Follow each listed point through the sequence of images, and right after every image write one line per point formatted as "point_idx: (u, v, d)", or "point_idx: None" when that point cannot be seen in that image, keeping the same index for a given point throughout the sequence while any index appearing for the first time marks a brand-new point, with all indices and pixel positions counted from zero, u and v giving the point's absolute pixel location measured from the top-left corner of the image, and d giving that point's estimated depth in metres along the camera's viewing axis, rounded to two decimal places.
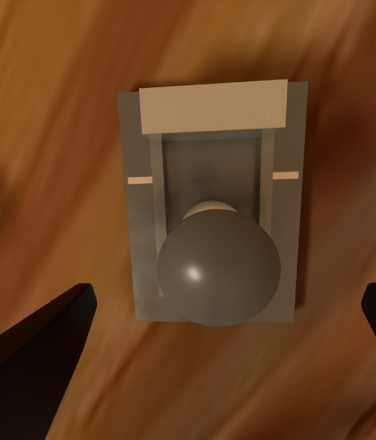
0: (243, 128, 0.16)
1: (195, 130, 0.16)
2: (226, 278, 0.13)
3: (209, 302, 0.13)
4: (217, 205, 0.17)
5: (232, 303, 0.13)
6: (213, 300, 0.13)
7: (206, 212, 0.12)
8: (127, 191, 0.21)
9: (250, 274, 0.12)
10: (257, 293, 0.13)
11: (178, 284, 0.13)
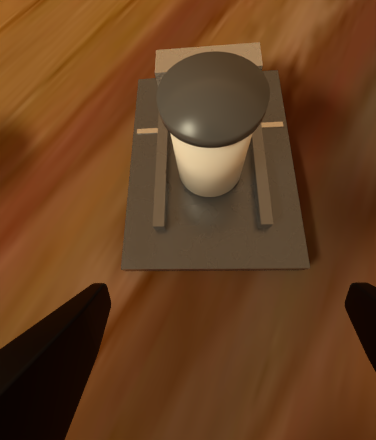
0: None
1: None
2: (220, 96, 0.14)
3: (204, 117, 0.13)
4: None
5: (227, 116, 0.13)
6: (208, 114, 0.13)
7: (201, 54, 0.15)
8: (135, 139, 0.24)
9: (242, 92, 0.14)
10: (250, 106, 0.13)
11: (175, 103, 0.14)
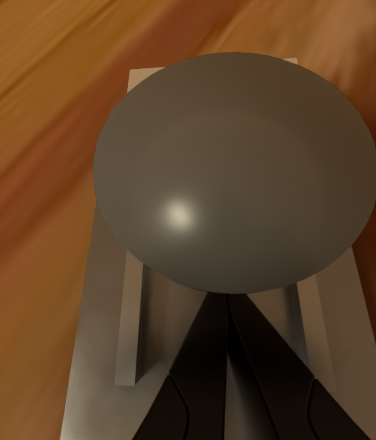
0: None
1: None
2: (250, 160, 0.05)
3: (210, 219, 0.05)
4: None
5: (271, 220, 0.05)
6: (219, 212, 0.05)
7: None
8: None
9: (304, 150, 0.05)
10: (331, 192, 0.05)
11: (137, 177, 0.06)
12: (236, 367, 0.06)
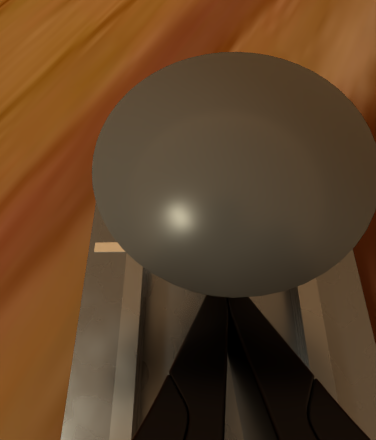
0: None
1: None
2: (250, 162, 0.05)
3: (210, 222, 0.05)
4: None
5: (271, 223, 0.05)
6: (219, 215, 0.05)
7: (203, 58, 0.07)
8: (90, 263, 0.14)
9: (305, 152, 0.05)
10: (333, 195, 0.05)
11: (137, 180, 0.05)
12: (236, 367, 0.06)
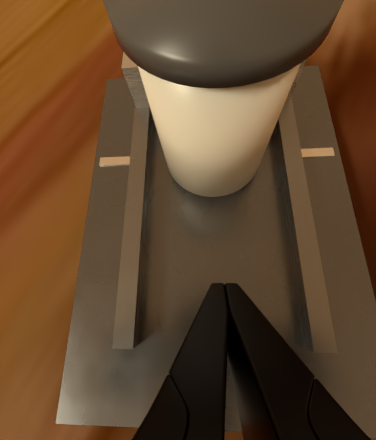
0: None
1: None
2: None
3: (205, 15, 0.06)
4: None
5: (257, 12, 0.06)
6: (213, 11, 0.06)
7: None
8: (96, 175, 0.15)
9: None
10: None
11: None
12: (236, 367, 0.06)
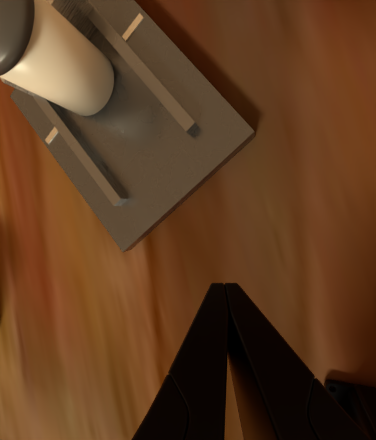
0: None
1: None
2: None
3: None
4: None
5: (2, 18, 0.13)
6: None
7: None
8: (51, 149, 0.24)
9: None
10: None
11: None
12: (236, 367, 0.06)
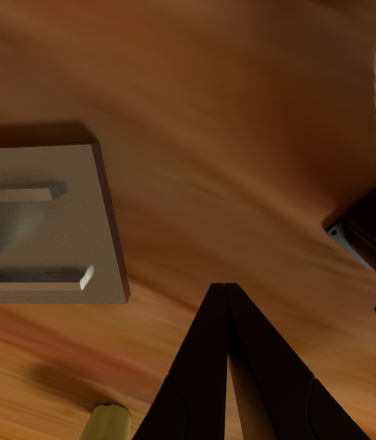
0: None
1: None
2: None
3: None
4: None
5: None
6: None
7: None
8: (4, 301, 0.25)
9: None
10: None
11: None
12: (236, 367, 0.06)
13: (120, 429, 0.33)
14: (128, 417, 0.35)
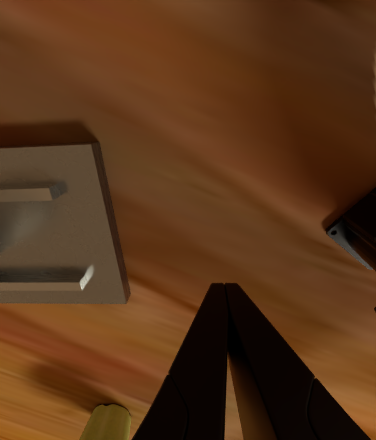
0: None
1: None
2: None
3: None
4: None
5: None
6: None
7: None
8: (4, 301, 0.25)
9: None
10: None
11: None
12: (236, 367, 0.06)
13: (120, 429, 0.33)
14: (128, 417, 0.35)
